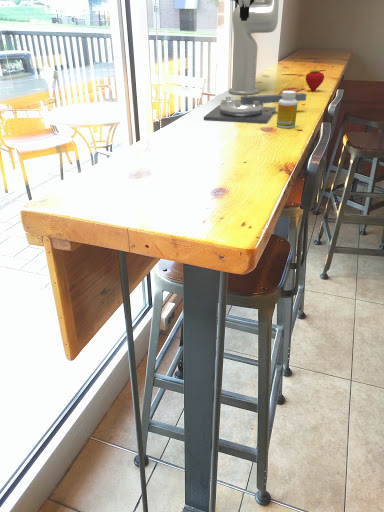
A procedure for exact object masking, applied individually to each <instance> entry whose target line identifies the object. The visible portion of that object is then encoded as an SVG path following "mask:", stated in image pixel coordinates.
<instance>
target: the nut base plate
mask: <svg viewBox="0 0 384 512" xmlns="http://www.w3.org/2000/svg"><path fill="white" fill-rule="evenodd" d="M276 109H277V108H276V107H275V106H263V112H262V113H261V114H258V115H251V116H232V115H226V114H223V113H221V112H220V104H219V105H217V106H216V107H214V108H213V109H212V110H211V111H209V112H208V113H207V114H206V115H205V116H203V121H212V122H213V121H215V122H216V121H217V122H230V123H231V122H232V123H247V124H268V122H269V120H270V119H271V118H272V116H273V115H274V114H275V112H276Z"/></svg>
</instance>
